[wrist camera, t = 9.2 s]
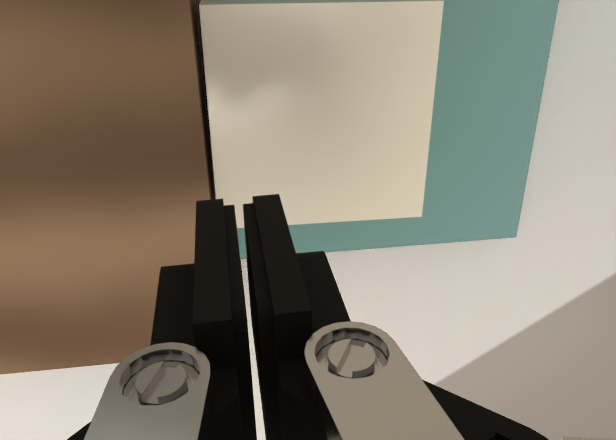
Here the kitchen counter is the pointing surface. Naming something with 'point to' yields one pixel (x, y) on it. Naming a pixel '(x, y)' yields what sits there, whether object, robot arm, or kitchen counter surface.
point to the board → (95, 173)
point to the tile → (321, 104)
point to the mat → (466, 132)
